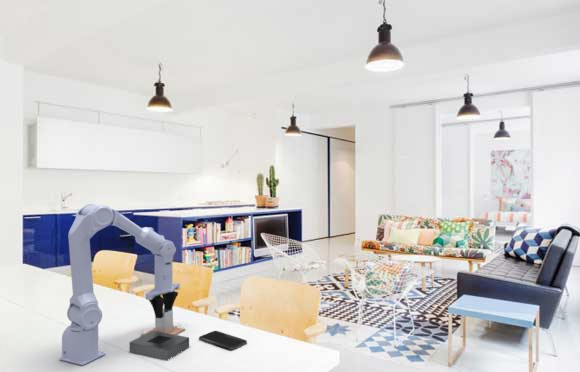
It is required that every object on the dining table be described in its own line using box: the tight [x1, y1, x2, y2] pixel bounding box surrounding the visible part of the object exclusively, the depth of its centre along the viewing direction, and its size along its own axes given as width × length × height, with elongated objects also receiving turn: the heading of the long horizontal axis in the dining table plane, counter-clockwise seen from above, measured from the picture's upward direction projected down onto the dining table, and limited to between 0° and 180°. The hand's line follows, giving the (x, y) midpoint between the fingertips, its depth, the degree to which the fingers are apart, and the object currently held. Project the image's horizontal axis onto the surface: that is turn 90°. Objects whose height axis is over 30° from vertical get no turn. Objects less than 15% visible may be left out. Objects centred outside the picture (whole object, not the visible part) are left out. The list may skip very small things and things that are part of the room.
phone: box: [198, 330, 248, 352], centre depth 127 cm, size 8×1×15 cm
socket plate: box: [129, 331, 190, 361], centre depth 120 cm, size 14×10×3 cm
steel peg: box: [154, 307, 174, 333], centre depth 133 cm, size 4×4×7 cm
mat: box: [140, 326, 186, 337], centre depth 134 cm, size 10×10×1 cm
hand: (163, 315), depth 134 cm, fingers closed on steel peg, 4 cm apart
